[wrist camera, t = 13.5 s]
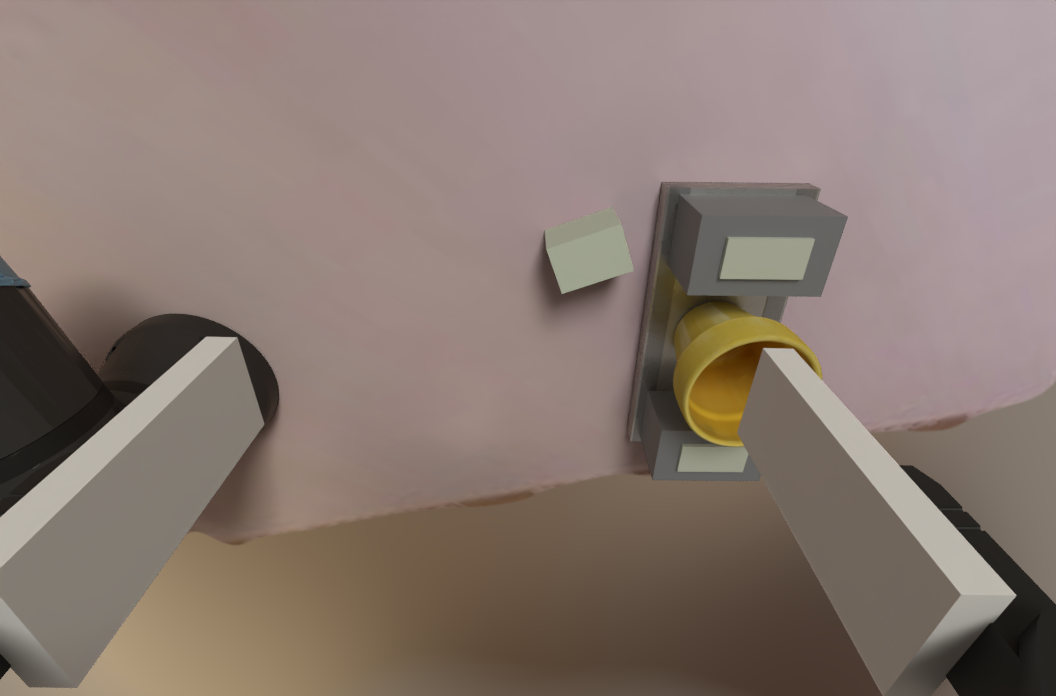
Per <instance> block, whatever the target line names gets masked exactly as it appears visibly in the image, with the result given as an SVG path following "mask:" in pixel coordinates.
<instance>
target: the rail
mask: <svg viewBox="0 0 1056 696" xmlns="http://www.w3.org/2000/svg"><path fill="white" fill-rule="evenodd" d="M820 190H821V189H820V188H818V187H815V186H813V185H811V184H809V183H730V182H662V186H661V193H660V200H659V207H658V214H657V221H656V228H655V235H654V242H653V249H652V256H651V263H650V270H649V278H648V285H647V292H646V299H645V306H644V313H643V320H642V327H641V334H640V341H639V348H638V355H637V362H636V369H635V376H634V383H633V390H632V398H631V405H630V412H629V419H628V426H627V431H628V435H629V438H630V441H632V442H641V432H642V425H643V419H644V413H645V407H646V401H647V394H648V391H674V387H673V376H674V371H675V367H676V364H677V360H676V352H675V343H674V334H675V330H676V327H677V325H678V323H679V322H680V320H681V319H682V318H683V317H684V316H685V314H687V313H688V312H689V311H690V310H692V309H693V308H695V307H697V306H699V305H701V304H704V303H708V302H714V301H719V302H727V303H731V304H733V305H735V306H737V307H739V308H741V309H743V310H744V311H746V312H748V313H750V314H752V315H754V316H755V317H763V318H768V319H772V320H775V321H777V322H779V323H781V319H782V316H783V313H784V309H785V306H786V303H787V299H788V296H709V295H687V294H686V293H685V291H684V290H683V288H682V287H681V285H680V283H679V282H678V280H677V279H676V277H675V276H674V274H673V273H672V271H671V270H670V268H669V267H668V264H669V258H670V252H671V246H672V239H673V233H674V227H675V221H676V215H677V208H678V202H679V196H680V194H724V195H804V196H808V197H810V198H812V199H814V200H816V201H817V200H818V196H819V193H820Z"/></svg>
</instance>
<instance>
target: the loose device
mask: <svg viewBox="0 0 1056 696" xmlns="http://www.w3.org/2000/svg"><path fill="white" fill-rule="evenodd" d="M545 240H546V250H547V253H548V256H549V259H550V261H551V264H552V267H553V270H554V273H555V276H556V278H557V281H558V284H559V287H560V290H561V293H562V294H564V293H567V292H570V291H573V290H576V289H579V288H582V287H585V286H588V285H591V284H594V283H598V282H601V281H604V280H607V279H610V278H613V277H616V276H619V275H622V274H625V273H628V272H632V271H634V269H633V265H632V261H631V258H630V254H629V250H628V246H627V243H626V239H625V235H624V231H623V228H622V224H621V222H620V220H619V218H618V216H617V215H616V213H615V211H614V209H613V207H610V208H607V209H604V210H601V211H599V212H596V213H593V214H590V215H587V216H584V217H581V218H579V219H576V220H573V221H570V222H567V223H564V224H561V225H558V226H556V227H553V228H550V229H547V230H545Z"/></svg>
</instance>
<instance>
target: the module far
mask: <svg viewBox="0 0 1056 696" xmlns="http://www.w3.org/2000/svg"><path fill="white" fill-rule="evenodd" d="M641 442H642V445H643V449H644V452H645V456H646V459H647V463H648V466H649V470H650V473H651V477H652V480H706V481H708V480H709V481H759V478H760V476H761V475H760V473H759V472H758V470H757V468H756V466H755V464H754V463H753V461H752V459H751V457H750V455H749V454H748V452H747V450H746V448H745V446H744V447H729V446H722V445H718V444H714V443H711V442H709V441H707V440H705V439H703V438H701V437H700V436H698V435H697V434H696V433H695V432H694V431H693V430H692V429H691V428H690V427H689V425H688V424H687V422H686V421H685V419H684V416H683V414H682V412H681V410H680V407H679V405H678V402H677V399H676V396H675V392H674V391H648V394H647V401H646V407H645V413H644V419H643V425H642V432H641Z"/></svg>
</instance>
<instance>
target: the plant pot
mask: <svg viewBox="0 0 1056 696" xmlns="http://www.w3.org/2000/svg"><path fill="white" fill-rule="evenodd" d="M674 343H675V352H676V360H677V364H676V367H675V371H674V376H673V387H674V392H675V396H676V399H677V402H678V405H679V407H680V410H681V412H682V414H683V416H684V419H685V421H686V422H687V424H688V425H689V427H690V428H691V429H692V430H693V431H694V432H695V433H696V434H697V435H698V436H700V437H701V438H703V439H705V440H707V441H709V442H711V443H714V444H718V445H722V446H729V447H744V445H743V443H742V441H741V439H740V437H739V436H738V434H737V432H738V428H739V425H740V422H741V419H742V415H743V412H744V409H745V406H746V402H747V399H748V396H749V392H750V389H751V386H752V383H753V379H754V376H755V373H756V370H757V366H758V363H759V360H760V357H761V353H762V350H763V348H785V349H794V350H795V351H796V352H797V353H798V354H799V355H800V357H801V358H802V359H803V360H804V361H805V362H806V363H807V364H808V365H809V367H810V368H811V369H812V370H813V371H814V372H815V373H816V374H817V375H818V376H819V378H820V379H821V380H822V371H821V366H820V364H819V361H818V359H817V357H816V356H815V354H814V353H813V352H812V350H811V349H810V348H809V347H808V346H807V345H806V344H805V343H804V342H803V341H802V340H801V339H800V338H799V337H798V336H797V335H796V334H795V333H793V332H792V331H791V330H790V329H789V328H788V327H786V326H785V325H783V324H781V323H779V322H777V321H775V320H772V319H768V318H763V317H755V316H754V315H752V314H750V313H748V312H746V311H744V310H743V309H741V308H739V307H737V306H735V305H733V304H731V303H727V302H719V301H714V302H708V303H704V304H701V305H699V306H697V307H695V308H693V309H692V310H690V311H689V312H688V313H687V314H685V316H684V317H683V318H682V319H681V320H680V322H679V323H678V325H677V327H676V330H675V334H674Z"/></svg>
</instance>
